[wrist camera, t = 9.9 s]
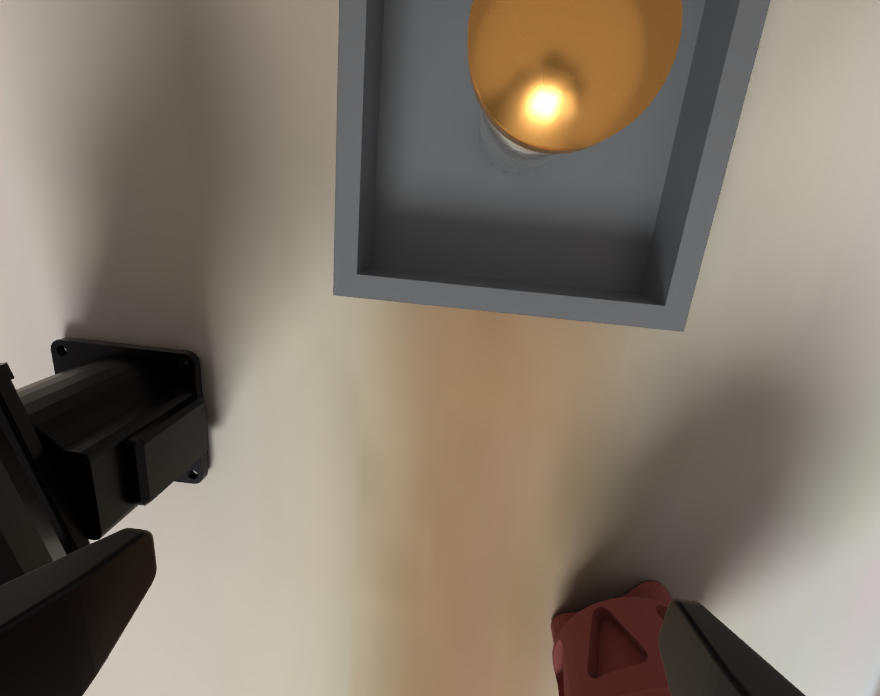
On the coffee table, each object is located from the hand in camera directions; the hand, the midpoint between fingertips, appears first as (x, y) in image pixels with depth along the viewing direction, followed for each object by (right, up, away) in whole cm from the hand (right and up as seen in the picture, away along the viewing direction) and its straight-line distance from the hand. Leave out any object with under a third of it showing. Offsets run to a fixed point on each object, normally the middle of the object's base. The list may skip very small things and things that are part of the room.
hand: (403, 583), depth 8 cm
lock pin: (+3, +12, +8) cm, 15 cm away
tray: (+4, +12, +9) cm, 15 cm away
